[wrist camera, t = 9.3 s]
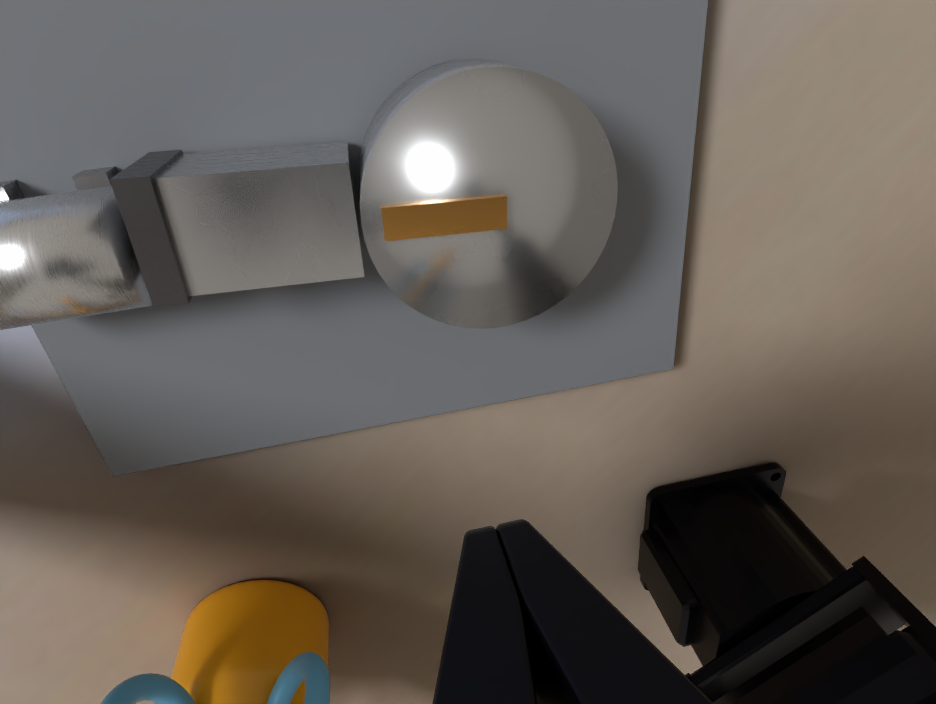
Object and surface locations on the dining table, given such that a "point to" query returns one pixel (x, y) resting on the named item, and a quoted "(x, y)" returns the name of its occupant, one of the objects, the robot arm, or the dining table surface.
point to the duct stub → (66, 254)
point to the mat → (347, 119)
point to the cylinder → (245, 651)
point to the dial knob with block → (395, 202)
